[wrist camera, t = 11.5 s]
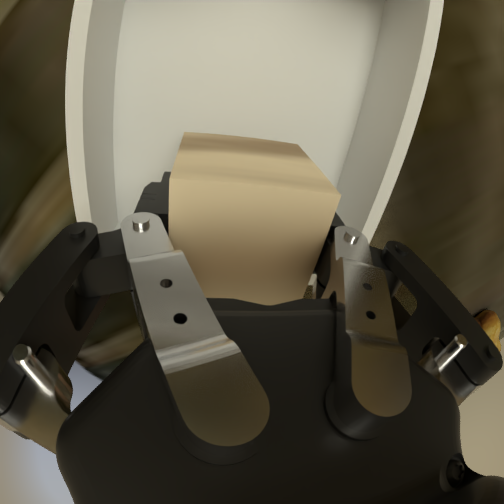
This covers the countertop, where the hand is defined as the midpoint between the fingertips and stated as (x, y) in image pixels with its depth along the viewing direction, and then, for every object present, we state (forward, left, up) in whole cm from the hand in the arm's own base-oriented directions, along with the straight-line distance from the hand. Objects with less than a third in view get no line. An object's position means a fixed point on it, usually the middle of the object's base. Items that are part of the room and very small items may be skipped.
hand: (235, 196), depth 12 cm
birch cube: (0, 0, -1) cm, 1 cm away
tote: (-4, 0, -4) cm, 6 cm away
